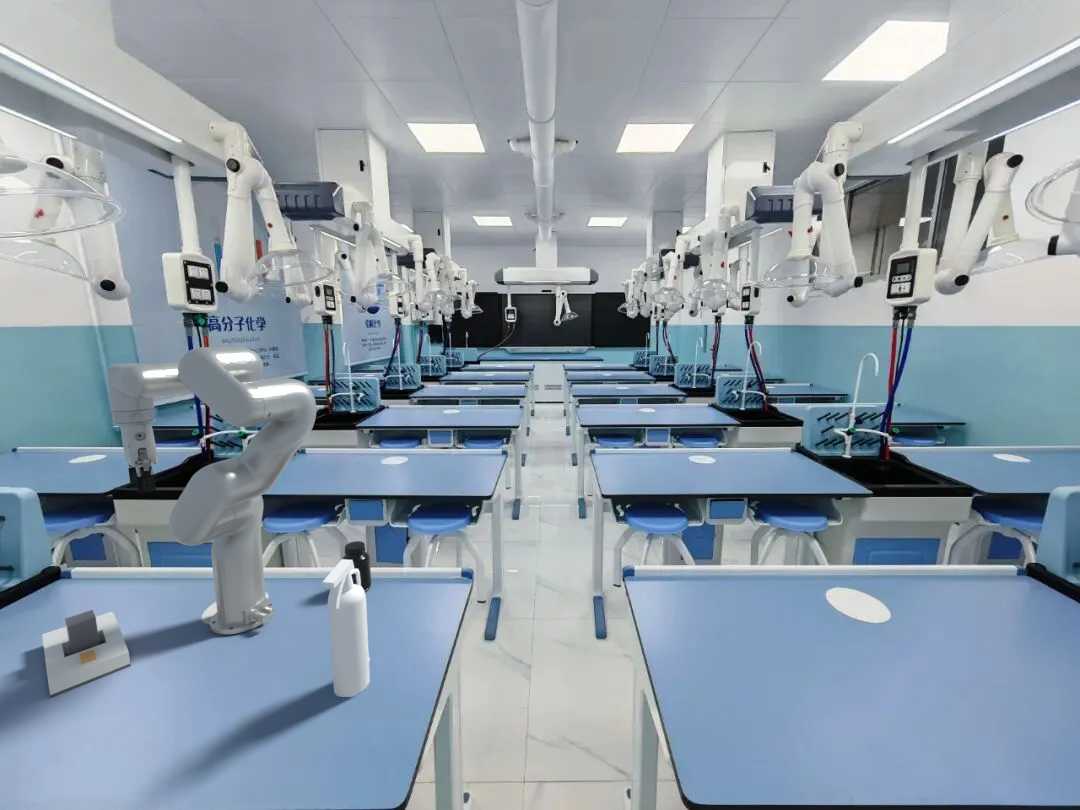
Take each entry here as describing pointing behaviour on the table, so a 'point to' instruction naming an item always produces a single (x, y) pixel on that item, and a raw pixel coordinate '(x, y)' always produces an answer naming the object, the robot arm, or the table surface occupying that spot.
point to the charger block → (82, 632)
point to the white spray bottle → (348, 630)
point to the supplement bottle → (359, 562)
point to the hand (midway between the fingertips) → (142, 487)
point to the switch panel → (84, 656)
